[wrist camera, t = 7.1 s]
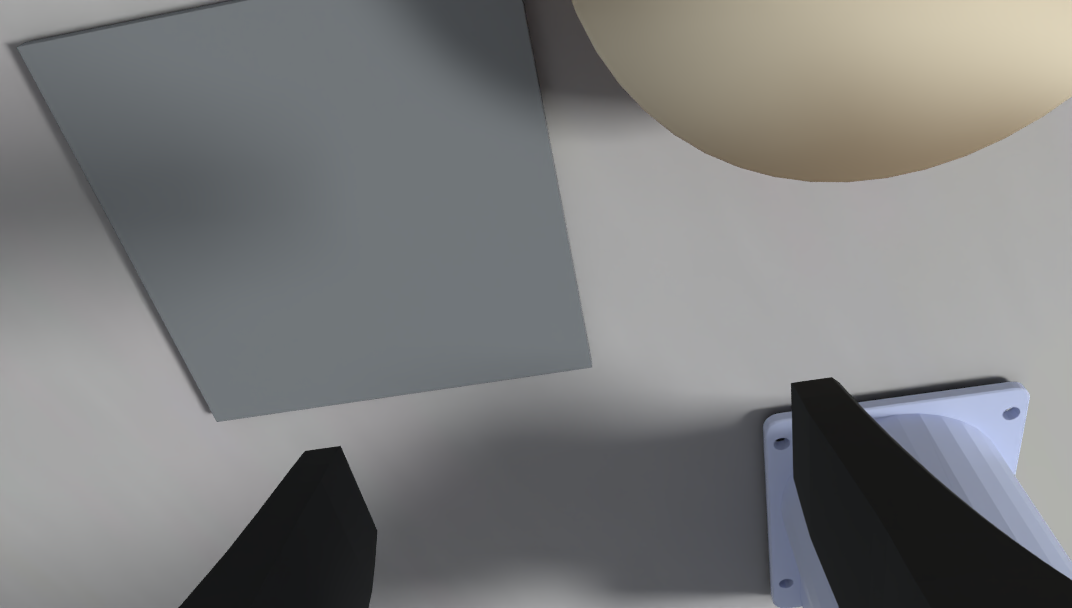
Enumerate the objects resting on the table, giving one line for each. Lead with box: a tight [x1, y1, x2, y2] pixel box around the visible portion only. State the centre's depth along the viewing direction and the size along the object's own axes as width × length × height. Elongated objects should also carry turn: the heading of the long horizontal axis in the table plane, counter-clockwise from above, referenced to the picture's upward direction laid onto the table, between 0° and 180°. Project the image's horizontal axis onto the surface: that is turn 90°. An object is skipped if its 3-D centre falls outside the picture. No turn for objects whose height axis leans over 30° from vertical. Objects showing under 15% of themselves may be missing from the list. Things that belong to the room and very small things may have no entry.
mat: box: [17, 0, 592, 422], centre depth 22 cm, size 12×12×1 cm
